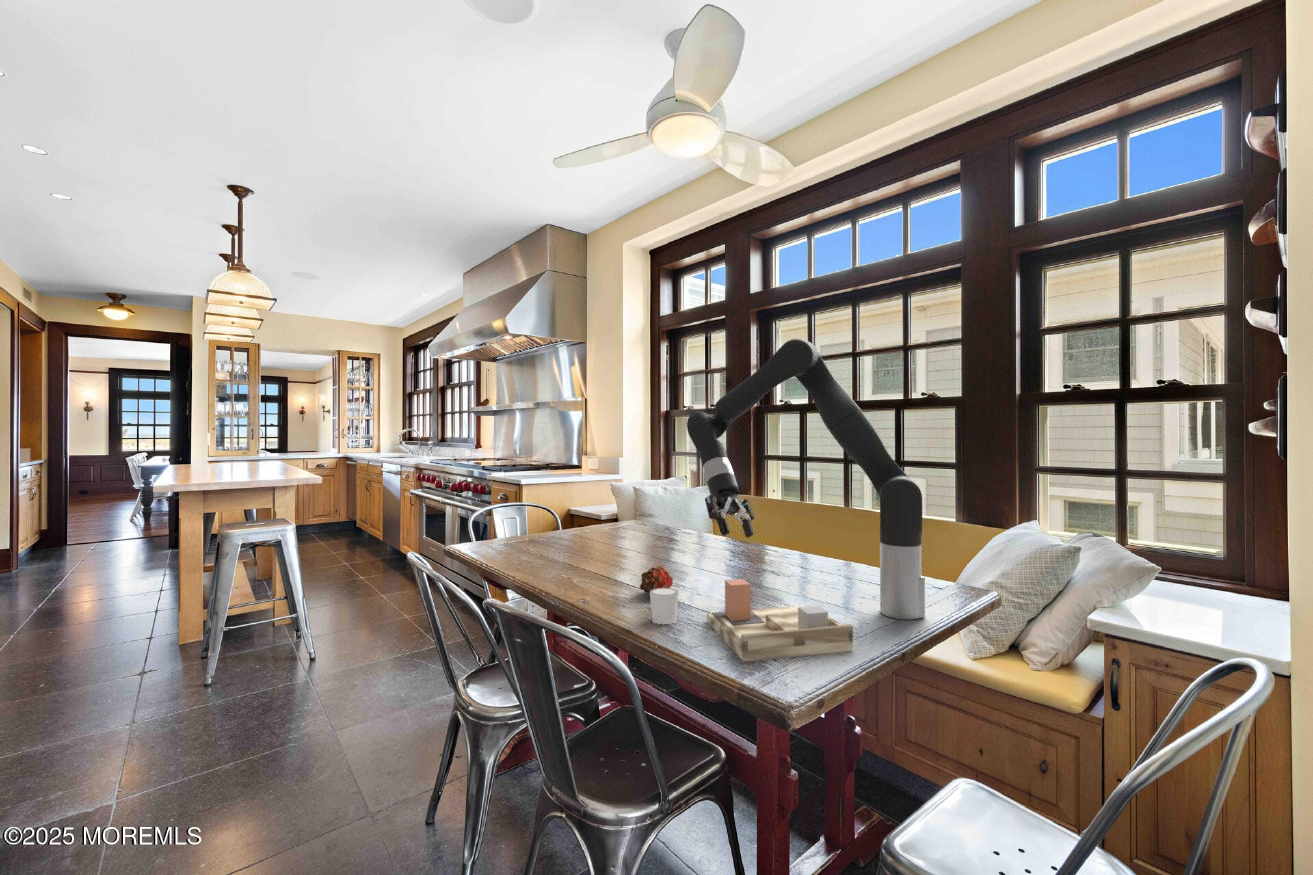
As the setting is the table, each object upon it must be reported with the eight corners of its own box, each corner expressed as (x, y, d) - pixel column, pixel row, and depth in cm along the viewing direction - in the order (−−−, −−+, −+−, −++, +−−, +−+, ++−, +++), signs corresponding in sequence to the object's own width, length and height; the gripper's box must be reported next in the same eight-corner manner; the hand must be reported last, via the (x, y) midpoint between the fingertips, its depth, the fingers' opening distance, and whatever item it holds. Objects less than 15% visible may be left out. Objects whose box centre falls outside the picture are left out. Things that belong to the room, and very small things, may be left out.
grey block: (798, 630, 123) (798, 607, 123) (817, 628, 124) (817, 605, 124) (807, 637, 119) (807, 613, 119) (827, 635, 120) (827, 612, 120)
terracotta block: (725, 614, 134) (724, 580, 134) (743, 613, 135) (743, 579, 134) (731, 620, 129) (731, 585, 129) (750, 619, 130) (750, 584, 130)
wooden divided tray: (707, 621, 136) (706, 600, 136) (799, 613, 140) (799, 593, 140) (743, 661, 112) (743, 636, 112) (852, 650, 117) (852, 626, 117)
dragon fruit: (649, 608, 151) (657, 601, 163) (675, 589, 150) (681, 584, 162) (631, 580, 153) (640, 576, 165) (656, 562, 152) (664, 558, 164)
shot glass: (658, 627, 132) (658, 597, 132) (645, 618, 138) (644, 589, 138) (684, 622, 135) (684, 592, 135) (670, 614, 141) (669, 585, 141)
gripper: (710, 468, 145) (728, 527, 137) (748, 474, 154) (767, 530, 146) (691, 482, 150) (707, 540, 142) (730, 487, 158) (747, 542, 150)
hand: (738, 535), depth 144 cm, fingers open, 8 cm apart
